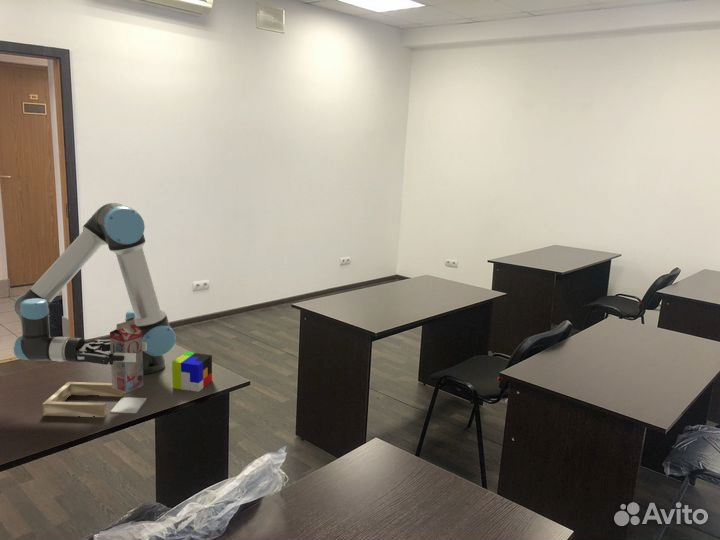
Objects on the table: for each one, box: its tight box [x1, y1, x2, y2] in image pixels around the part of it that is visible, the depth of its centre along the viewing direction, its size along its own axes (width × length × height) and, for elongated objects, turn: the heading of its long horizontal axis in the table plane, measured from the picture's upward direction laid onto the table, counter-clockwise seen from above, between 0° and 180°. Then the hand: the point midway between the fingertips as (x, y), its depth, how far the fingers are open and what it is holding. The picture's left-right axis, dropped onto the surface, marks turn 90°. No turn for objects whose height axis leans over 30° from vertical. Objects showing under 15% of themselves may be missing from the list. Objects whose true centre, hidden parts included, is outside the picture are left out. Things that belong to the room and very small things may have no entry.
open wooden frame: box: [42, 381, 125, 418], centre depth 175 cm, size 16×18×4 cm
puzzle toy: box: [171, 351, 213, 393], centre depth 194 cm, size 10×10×10 cm
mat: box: [109, 396, 147, 414], centre depth 176 cm, size 10×8×1 cm
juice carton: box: [109, 319, 144, 394], centre depth 172 cm, size 7×7×22 cm
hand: (141, 352), depth 172 cm, fingers closed on juice carton, 9 cm apart
